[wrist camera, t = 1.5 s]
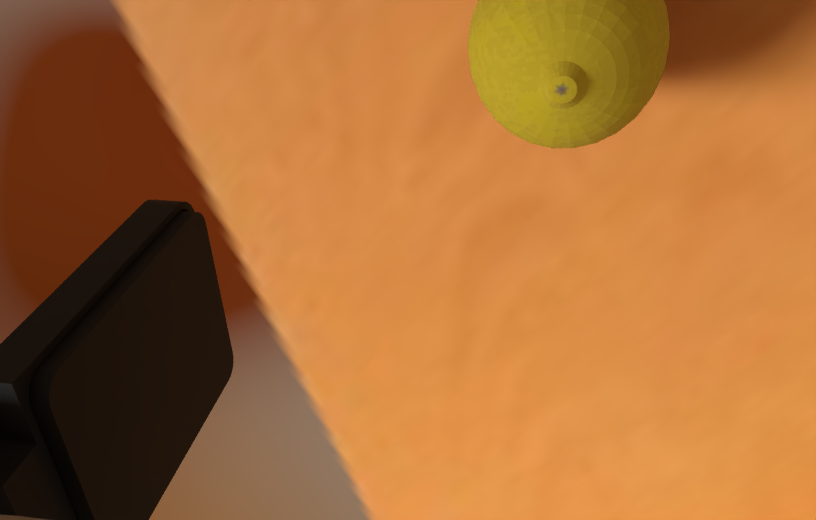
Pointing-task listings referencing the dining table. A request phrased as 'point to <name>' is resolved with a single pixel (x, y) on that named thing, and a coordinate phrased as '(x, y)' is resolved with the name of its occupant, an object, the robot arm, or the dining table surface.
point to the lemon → (567, 65)
